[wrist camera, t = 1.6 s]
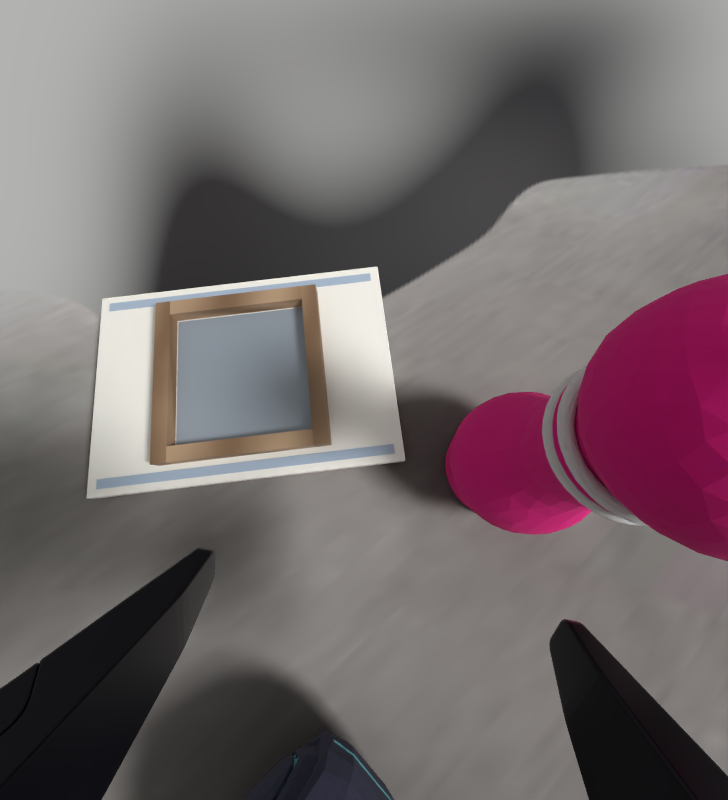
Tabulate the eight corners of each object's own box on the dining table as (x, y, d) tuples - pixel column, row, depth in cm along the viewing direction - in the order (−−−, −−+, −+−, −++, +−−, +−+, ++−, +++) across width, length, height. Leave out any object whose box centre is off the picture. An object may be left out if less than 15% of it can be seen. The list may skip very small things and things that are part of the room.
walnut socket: (317, 292, 25) (315, 284, 24) (331, 445, 22) (329, 442, 21) (163, 310, 25) (155, 302, 24) (159, 465, 22) (149, 464, 21)
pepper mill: (468, 393, 24) (853, -6, 5) (568, 447, 23) (1589, 213, 4) (417, 487, 23) (677, 457, 3) (521, 549, 22) (1816, 1049, 2)
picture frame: (377, 274, 27) (377, 266, 26) (404, 461, 23) (405, 460, 22) (112, 305, 26) (101, 298, 25) (98, 498, 23) (85, 498, 22)
